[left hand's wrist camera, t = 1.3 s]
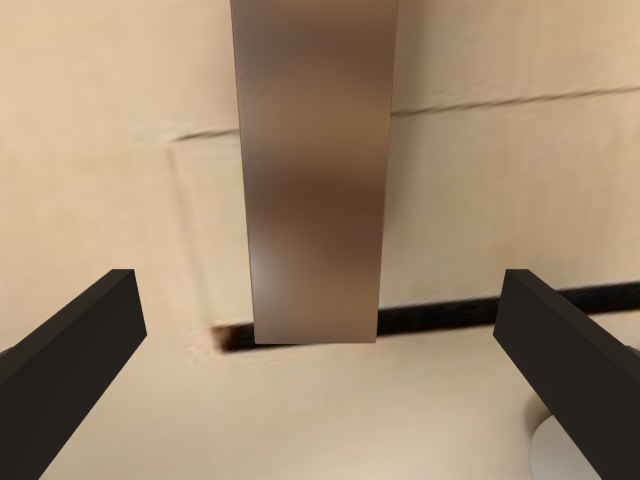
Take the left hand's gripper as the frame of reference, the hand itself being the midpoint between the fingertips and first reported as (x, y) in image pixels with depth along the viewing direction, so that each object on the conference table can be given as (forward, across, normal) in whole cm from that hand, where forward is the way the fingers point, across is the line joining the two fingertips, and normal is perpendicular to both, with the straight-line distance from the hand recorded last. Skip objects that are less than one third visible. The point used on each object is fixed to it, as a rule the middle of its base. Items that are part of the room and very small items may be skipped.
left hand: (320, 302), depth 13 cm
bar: (+11, 0, -7) cm, 13 cm away
